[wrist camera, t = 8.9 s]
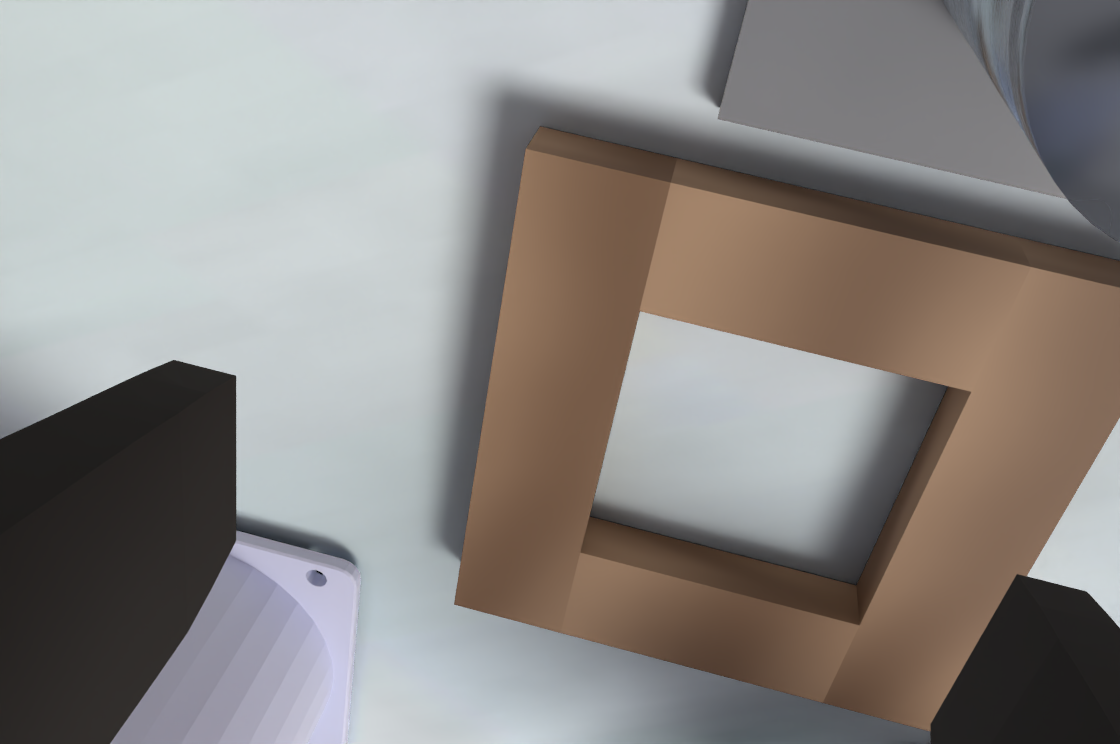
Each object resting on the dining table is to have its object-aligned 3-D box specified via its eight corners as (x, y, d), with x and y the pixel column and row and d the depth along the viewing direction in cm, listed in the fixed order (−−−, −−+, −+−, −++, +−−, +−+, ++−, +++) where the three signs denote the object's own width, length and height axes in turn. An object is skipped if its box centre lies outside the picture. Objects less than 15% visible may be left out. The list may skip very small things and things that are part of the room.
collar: (468, 568, 24) (453, 604, 23) (539, 126, 18) (525, 148, 17) (928, 690, 23) (934, 732, 22) (1163, 271, 17) (1186, 303, 16)
